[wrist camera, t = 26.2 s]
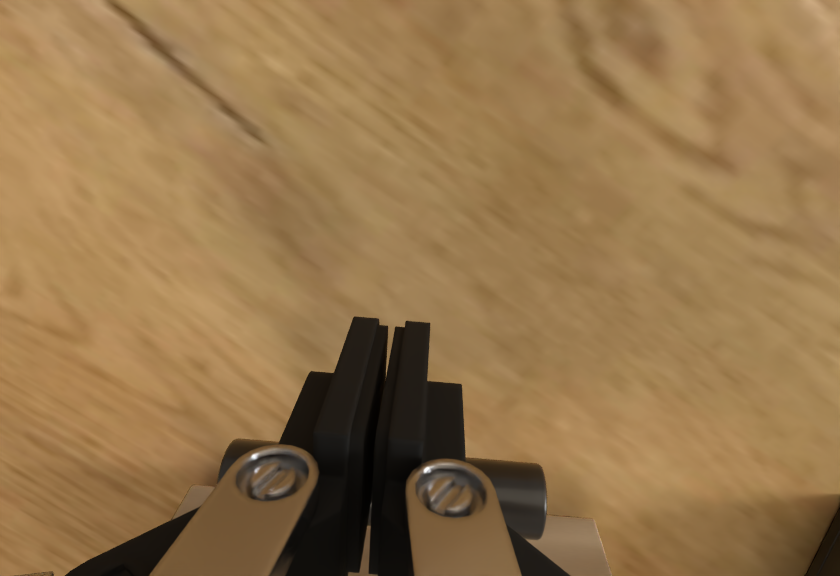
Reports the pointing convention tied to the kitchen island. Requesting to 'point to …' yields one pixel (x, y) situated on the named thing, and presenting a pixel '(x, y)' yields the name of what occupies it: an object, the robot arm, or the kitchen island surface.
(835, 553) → the black rod and box
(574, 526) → the drawer
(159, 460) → the kitchen island surface
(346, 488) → the robot arm
